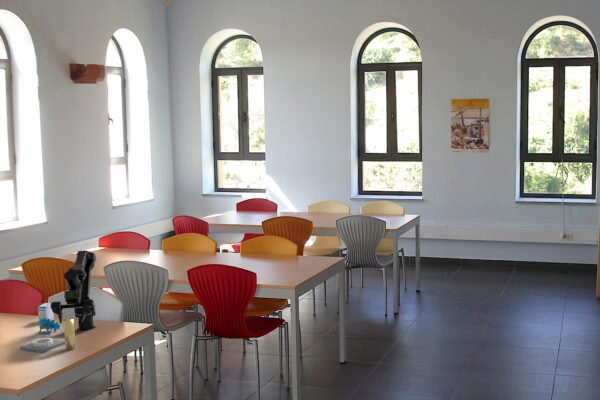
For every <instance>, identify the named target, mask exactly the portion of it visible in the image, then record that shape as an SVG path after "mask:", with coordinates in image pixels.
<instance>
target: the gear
mask: <svg viewBox="0 0 600 400" xmlns="http://www.w3.org/2000/svg"><path fill="white" fill-rule="evenodd" d="M38 327H39V331H38V333H39V334H40V333H42V331H43V330H45V329H46V330H45V334H48V333H49V330H50V331H51V330H54V331H56V330H60V328H61V324H60V322H58V321H56V320H55V319H53V320H52V321H51V320H50V319H47V320H46V319H45V318H43V320H42V319H41V320H40V322H39V321H38Z"/></svg>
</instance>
